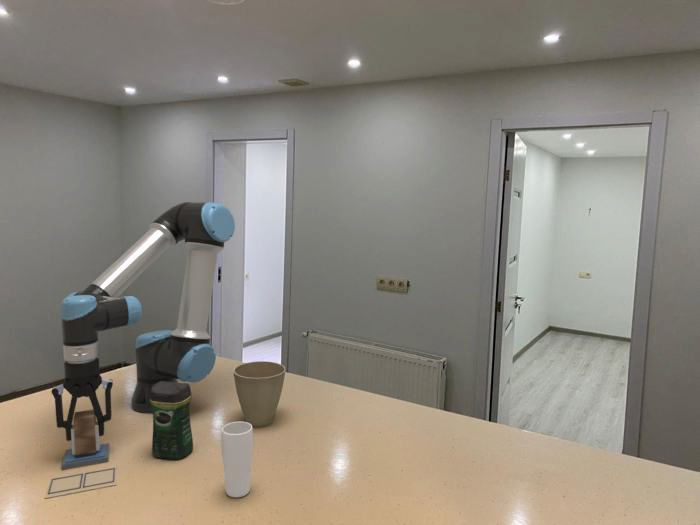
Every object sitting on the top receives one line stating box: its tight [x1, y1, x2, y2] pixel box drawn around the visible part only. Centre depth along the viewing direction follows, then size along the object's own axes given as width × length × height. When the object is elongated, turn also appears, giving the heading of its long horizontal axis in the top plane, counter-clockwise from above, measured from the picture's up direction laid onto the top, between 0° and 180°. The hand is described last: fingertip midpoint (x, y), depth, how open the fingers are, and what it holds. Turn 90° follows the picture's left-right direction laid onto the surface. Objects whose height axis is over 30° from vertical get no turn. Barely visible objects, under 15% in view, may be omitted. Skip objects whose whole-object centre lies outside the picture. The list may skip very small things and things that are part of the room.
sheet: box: [44, 465, 118, 500], centre depth 116 cm, size 14×9×1 cm, turn 113°
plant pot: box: [232, 360, 286, 428], centre depth 148 cm, size 15×15×16 cm
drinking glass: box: [220, 421, 254, 498], centre depth 112 cm, size 7×7×15 cm
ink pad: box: [61, 442, 111, 471], centre depth 127 cm, size 10×8×2 cm
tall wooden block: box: [72, 409, 97, 458], centre depth 126 cm, size 4×4×10 cm
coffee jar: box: [150, 381, 194, 460], centre depth 129 cm, size 10×8×19 cm
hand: (86, 449), depth 126 cm, fingers closed on tall wooden block, 4 cm apart
